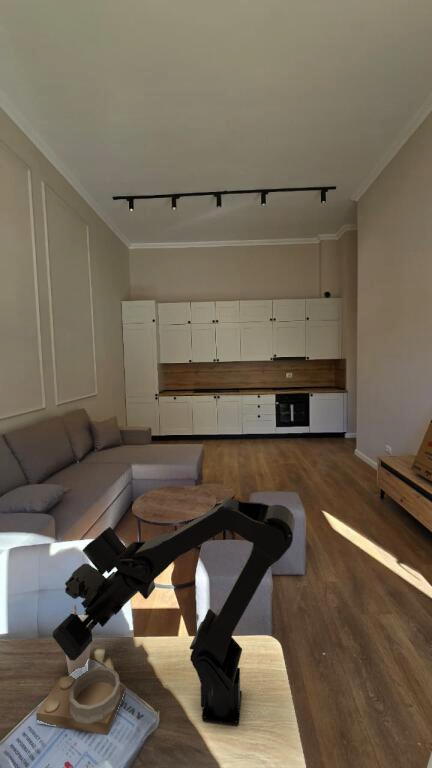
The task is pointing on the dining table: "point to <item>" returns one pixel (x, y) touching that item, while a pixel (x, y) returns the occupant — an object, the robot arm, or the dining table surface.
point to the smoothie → (84, 656)
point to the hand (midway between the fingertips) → (72, 633)
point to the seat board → (84, 701)
